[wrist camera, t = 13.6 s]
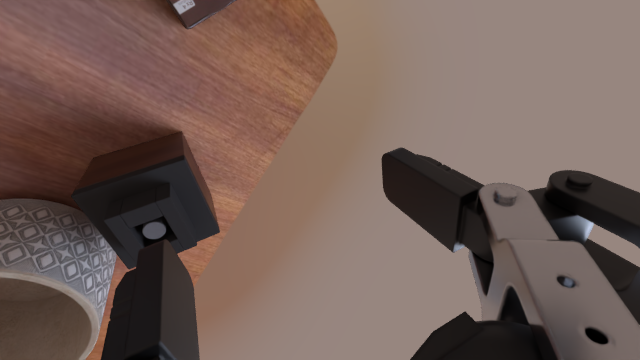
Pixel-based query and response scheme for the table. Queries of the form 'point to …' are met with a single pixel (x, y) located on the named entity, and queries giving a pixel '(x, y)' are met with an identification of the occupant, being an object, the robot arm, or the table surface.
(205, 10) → the box
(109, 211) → the top pad
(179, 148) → the stand
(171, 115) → the table surface
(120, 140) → the table surface
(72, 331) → the planter
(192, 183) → the base pad
